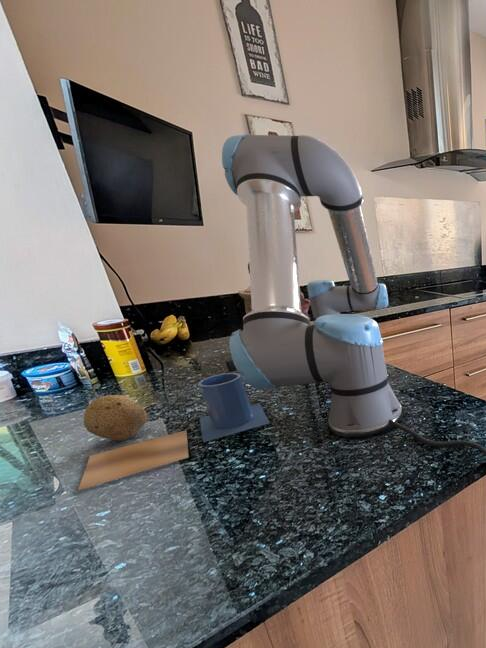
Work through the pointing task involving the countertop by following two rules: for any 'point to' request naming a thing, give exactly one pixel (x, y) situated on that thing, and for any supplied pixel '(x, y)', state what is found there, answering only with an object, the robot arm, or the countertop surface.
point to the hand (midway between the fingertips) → (253, 367)
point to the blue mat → (213, 433)
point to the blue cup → (226, 400)
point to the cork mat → (134, 459)
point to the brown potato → (114, 417)
